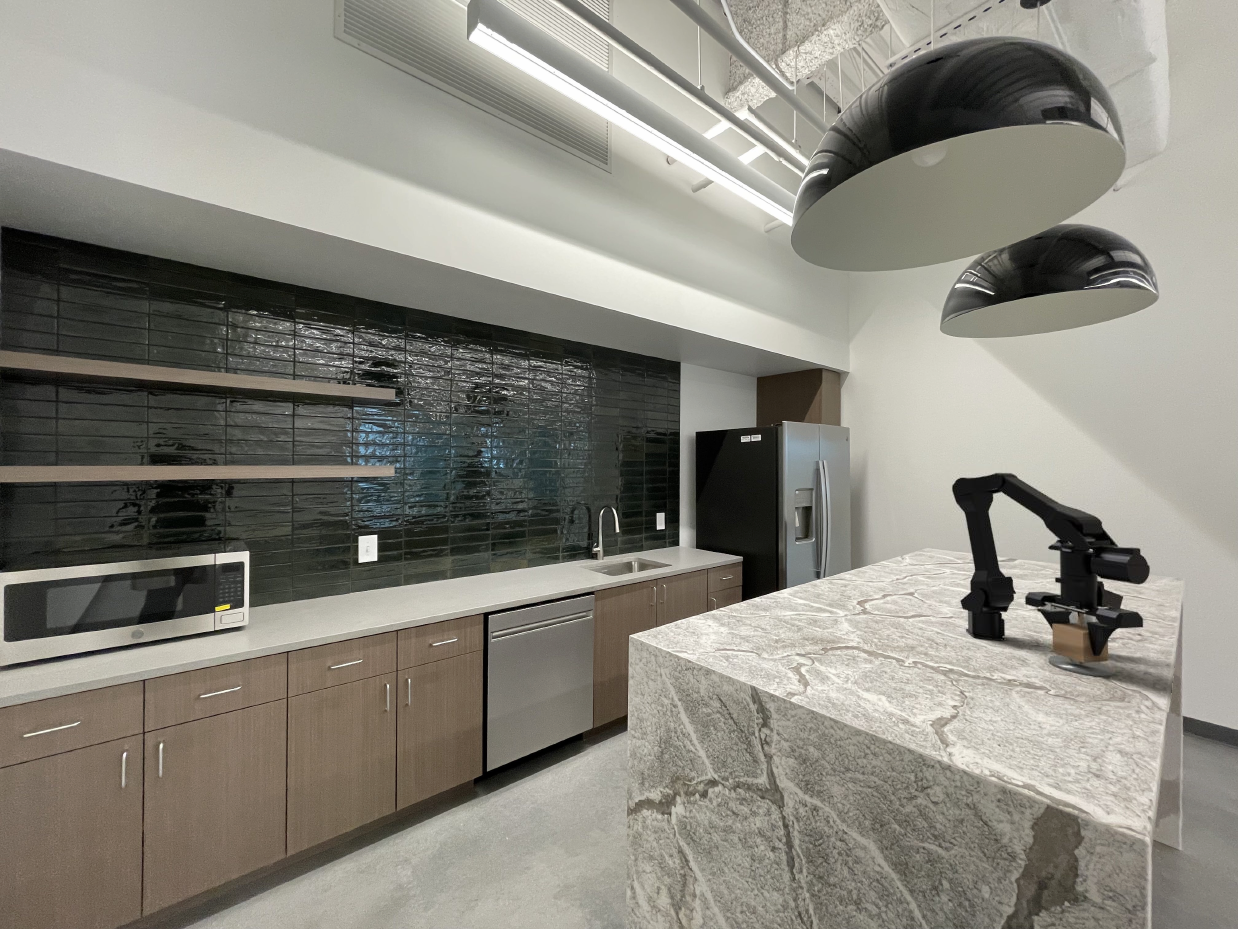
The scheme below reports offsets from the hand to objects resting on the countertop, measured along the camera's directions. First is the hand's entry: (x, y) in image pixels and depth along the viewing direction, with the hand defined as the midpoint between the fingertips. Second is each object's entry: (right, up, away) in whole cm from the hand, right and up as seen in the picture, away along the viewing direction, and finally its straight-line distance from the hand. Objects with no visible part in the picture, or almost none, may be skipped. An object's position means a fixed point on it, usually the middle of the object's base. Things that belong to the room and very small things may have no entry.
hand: (1079, 650), depth 103 cm
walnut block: (0, -1, 0) cm, 1 cm away
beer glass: (+10, -4, +10) cm, 15 cm away
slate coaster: (0, -3, 0) cm, 3 cm away
